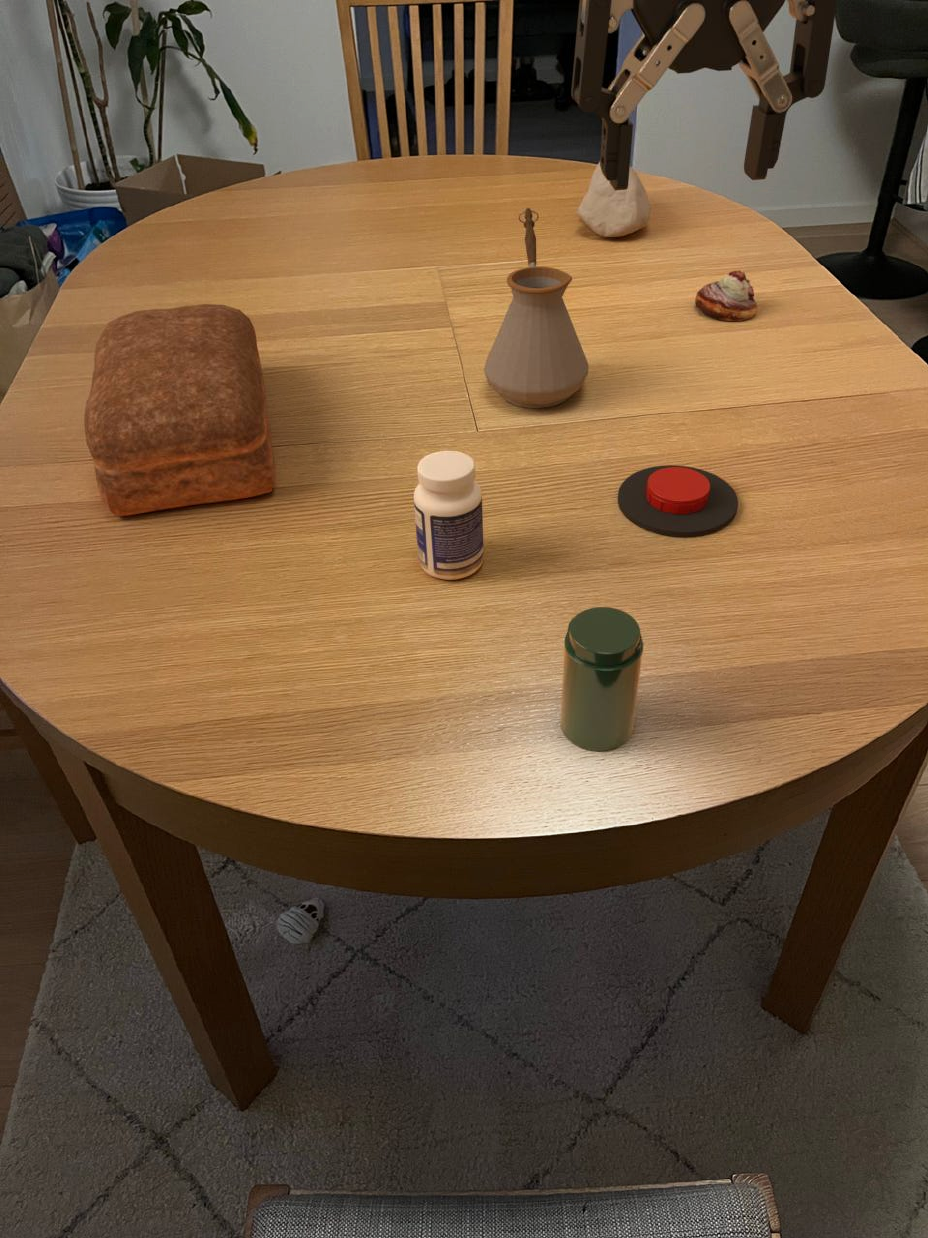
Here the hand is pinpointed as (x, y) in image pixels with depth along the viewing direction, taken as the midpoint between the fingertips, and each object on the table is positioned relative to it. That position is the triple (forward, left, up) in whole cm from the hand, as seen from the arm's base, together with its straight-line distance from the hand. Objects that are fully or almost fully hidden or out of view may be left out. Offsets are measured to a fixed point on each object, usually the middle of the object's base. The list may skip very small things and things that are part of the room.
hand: (685, 181), depth 57 cm
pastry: (+5, -57, -32) cm, 66 cm away
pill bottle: (+16, +3, -32) cm, 36 cm away
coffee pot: (+22, -33, -32) cm, 51 cm away
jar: (-2, +16, -32) cm, 36 cm away
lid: (0, -13, -30) cm, 33 cm away
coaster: (0, -13, -32) cm, 35 cm away
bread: (+51, -6, -32) cm, 60 cm away
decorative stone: (+28, -83, -32) cm, 93 cm away
